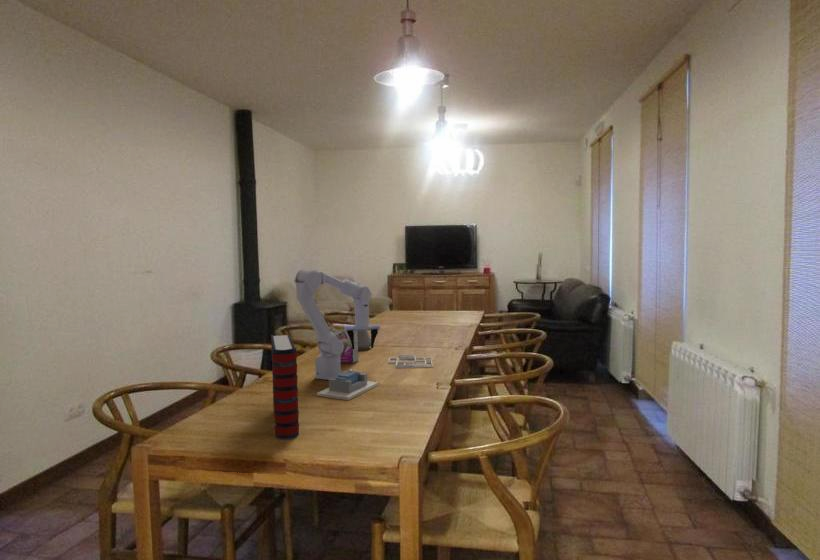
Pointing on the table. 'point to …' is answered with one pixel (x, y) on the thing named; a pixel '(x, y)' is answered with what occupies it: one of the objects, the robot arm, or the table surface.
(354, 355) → the candy bar box
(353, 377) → the block
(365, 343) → the coffee pot
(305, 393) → the table surface
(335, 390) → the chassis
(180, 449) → the table surface
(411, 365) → the floor plan model
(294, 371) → the book
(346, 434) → the table surface
